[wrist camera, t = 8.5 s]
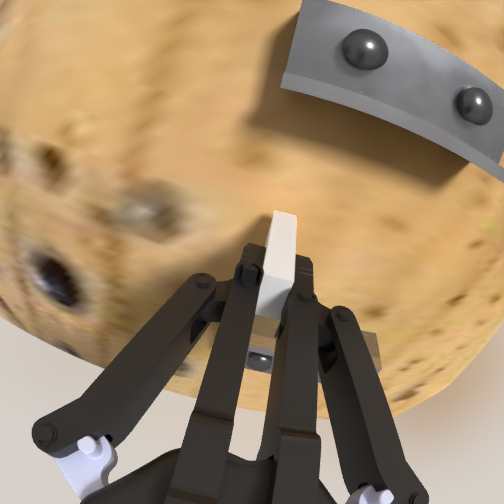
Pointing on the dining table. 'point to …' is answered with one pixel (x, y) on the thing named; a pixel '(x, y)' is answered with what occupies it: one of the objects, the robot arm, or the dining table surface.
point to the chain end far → (265, 342)
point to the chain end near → (397, 80)
